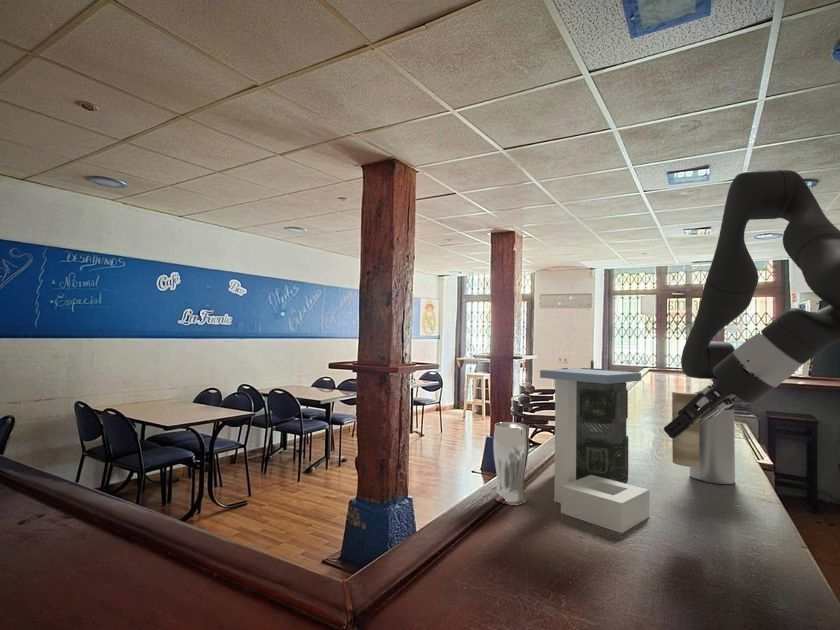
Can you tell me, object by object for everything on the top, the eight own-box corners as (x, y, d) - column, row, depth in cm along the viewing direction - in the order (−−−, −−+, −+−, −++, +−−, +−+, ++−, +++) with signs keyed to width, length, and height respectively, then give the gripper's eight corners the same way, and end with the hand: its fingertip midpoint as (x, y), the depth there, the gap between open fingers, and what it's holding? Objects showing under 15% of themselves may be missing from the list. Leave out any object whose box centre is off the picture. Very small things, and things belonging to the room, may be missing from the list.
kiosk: (618, 535, 76) (618, 376, 77) (538, 508, 87) (540, 370, 89) (652, 515, 85) (651, 373, 86) (575, 493, 96) (576, 368, 98)
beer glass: (507, 508, 86) (508, 429, 87) (485, 497, 93) (486, 423, 93) (535, 503, 90) (536, 427, 90) (512, 492, 96) (513, 421, 97)
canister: (632, 494, 97) (632, 363, 98) (555, 485, 102) (556, 360, 103) (624, 474, 112) (624, 360, 113) (557, 467, 117) (558, 358, 118)
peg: (674, 459, 80) (674, 391, 81) (701, 463, 78) (700, 393, 79) (670, 463, 77) (670, 393, 78) (697, 468, 75) (697, 395, 75)
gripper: (747, 349, 78) (671, 411, 86) (722, 349, 68) (640, 418, 77) (786, 383, 74) (703, 444, 82) (766, 388, 64) (674, 457, 73)
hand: (673, 431), depth 79 cm, fingers closed on peg, 4 cm apart
